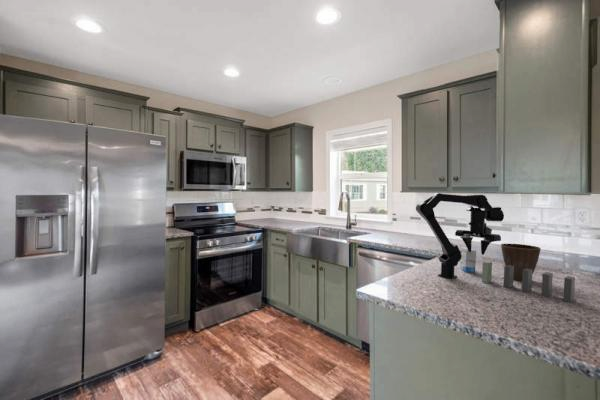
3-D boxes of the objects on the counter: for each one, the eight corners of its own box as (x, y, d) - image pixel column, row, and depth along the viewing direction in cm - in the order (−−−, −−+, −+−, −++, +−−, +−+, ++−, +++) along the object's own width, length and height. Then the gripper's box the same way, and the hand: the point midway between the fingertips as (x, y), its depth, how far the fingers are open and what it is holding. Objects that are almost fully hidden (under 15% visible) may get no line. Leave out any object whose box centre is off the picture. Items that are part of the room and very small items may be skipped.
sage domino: (481, 281, 130) (482, 262, 130) (486, 280, 133) (487, 261, 133) (486, 282, 128) (487, 263, 128) (491, 281, 131) (492, 261, 131)
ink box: (476, 273, 145) (476, 250, 145) (465, 272, 146) (466, 249, 146) (469, 268, 153) (470, 247, 153) (459, 268, 154) (460, 246, 154)
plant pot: (505, 281, 131) (507, 247, 131) (495, 273, 145) (497, 242, 145) (545, 285, 126) (546, 250, 126) (531, 276, 140) (532, 244, 140)
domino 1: (508, 288, 121) (509, 267, 121) (503, 286, 123) (504, 266, 123) (513, 286, 124) (514, 265, 124) (507, 285, 126) (508, 265, 126)
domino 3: (548, 297, 111) (549, 274, 111) (541, 296, 113) (542, 273, 112) (551, 295, 114) (552, 273, 114) (545, 293, 115) (546, 271, 115)
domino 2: (527, 292, 116) (528, 271, 116) (521, 291, 118) (522, 269, 118) (531, 290, 119) (532, 269, 119) (525, 289, 121) (526, 268, 121)
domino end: (570, 303, 106) (571, 279, 105) (563, 301, 107) (564, 277, 107) (573, 300, 109) (574, 277, 108) (566, 298, 110) (567, 275, 110)
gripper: (508, 222, 131) (507, 255, 131) (468, 218, 147) (467, 248, 148) (494, 223, 126) (492, 257, 126) (455, 219, 142) (453, 249, 143)
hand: (476, 253), depth 136 cm, fingers open, 6 cm apart
